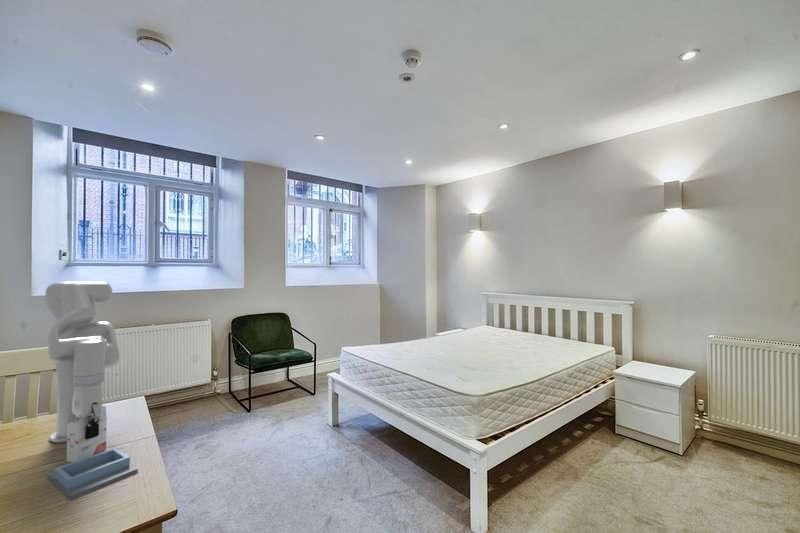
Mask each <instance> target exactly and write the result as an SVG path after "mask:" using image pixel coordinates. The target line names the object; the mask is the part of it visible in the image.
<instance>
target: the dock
mask: <svg viewBox="0 0 800 533" xmlns="http://www.w3.org/2000/svg"><path fill="white" fill-rule="evenodd" d="M130 460H131V456H129V455H128V454H127V453H124V451H122V450H120V449H118V448H117V447H113V448H111V449H108V450H104V451H102V452H100V453H97V454H95V455H93V456H90V457H87V458H84V459H81V460H79V461H76V462H70V463H68V464H65V465H61V466H59V467H56V468H54V471H52V472H50V473H47V474H46V475H47V479H48V480H49V481H51V483H52V484H53V485H54V486H56V488H57V489H59V491H60V492H62V493H63V495H65V497H66V498H68V499H69V501H70V500H73V499H76V498H78V497H81V496H83V495H87V494H88V493H90V492H93V491H96V490H99V489H100V488H102V487H105V486H108V485H110V484H113V483H115V482H117V481H119V480H122V479H123V478H126V477H129V476H132V475H133V474H137V473H138V472H139V471H138V467H136V466H135V465H133V464H131V461H130Z"/></svg>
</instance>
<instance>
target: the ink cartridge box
mask: <svg viewBox="0 0 800 533" xmlns="http://www.w3.org/2000/svg"><path fill="white" fill-rule="evenodd" d="M106 407H107V406H106V405H102V412H101V413H100V415H101V416H100V418H99V419H100V420H99V435H98V436H97V437H93V438H90V439H85V428H86V426H87V422H86V417H85V418H84V419H81V415H79V420H76V421H74V422H71V423H68V424H67V442H66V462H70V463H73V462H76V461H79V460H81V459H84V458H87V457H90V456H93V455H96V454H99V453H102V452H104V451H106V449H107V417H108V416H107V408H106ZM89 415H91V414H89ZM92 415H93V414H92ZM91 419H93V417H92V418H90V421H91Z"/></svg>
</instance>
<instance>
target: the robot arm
mask: <svg viewBox="0 0 800 533" xmlns="http://www.w3.org/2000/svg"><path fill="white" fill-rule="evenodd" d="M113 294H114V293H113V288H112V286H111V284H110V283H109V282H106V281H102V280H101V281H97V280H94V281H87V280H86V281H59V282H54V283H52V284H51V283H50V285H48V286H46V288H45V301H46V306H47V308H48V309H49V311H50V313H51V315H52V316H53V317H54V319H55V321H56V322H55V323H54V324H53V325H52V326H51V328H50V329H49V330H48V335H47V346H48V348H47V349H48V355H49V358H50V360H51V361H53V362H54V363H55V364H54V365H55V371H56V376H57V396H56V398H57V399H56V400H57V402H56V427H55V428H56V430H55V431H54V432H53V433H51V434H50V436H49V441H50V442H53V443H67V424H68V423H71V422H74V421H76V420H79V415H81V419H84V418H85V417H86V422H87V426H86V428H85V439H90V438H93V437H97V436H98V435H99V420H100V419H99V418H100V416H101V415H100V413H101V412H102V407H103V387H102V385H103V383H104V382H105V370H106V369H111V368H113V367H115V366H117V365H118V363H119V361H120V350H119V345H118V341H117V340H118V339H117V337H116V336H117V335H116V331H115V327H114V326H113V324H112V323H111V322H109V321H105V320H104V321H103V320H102V321H101V320H100V321H93V320H94V319H95V318H96V316H97V312H96V307H95V304H108V303H109V302H111V300H112V298H113ZM89 414H91V415H89ZM92 414H93V415H92ZM92 417H93V419H91V421H90V418H92Z"/></svg>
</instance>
